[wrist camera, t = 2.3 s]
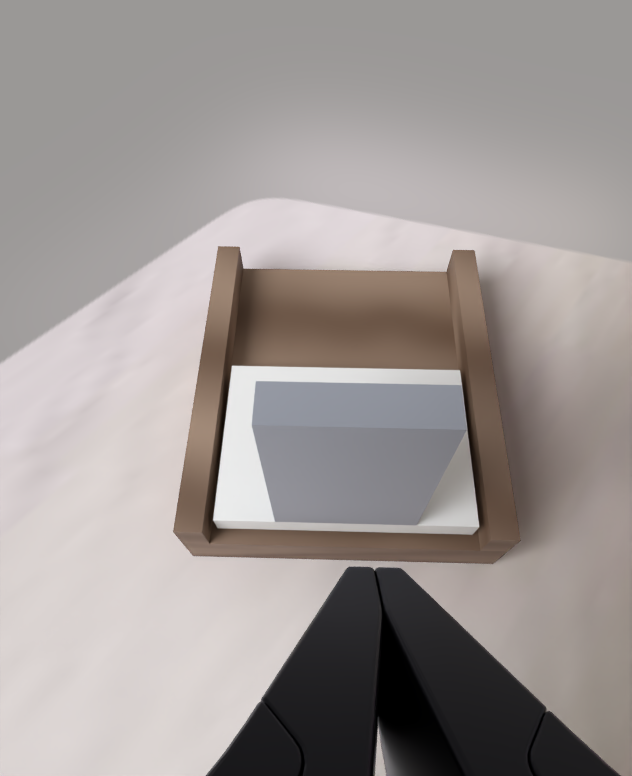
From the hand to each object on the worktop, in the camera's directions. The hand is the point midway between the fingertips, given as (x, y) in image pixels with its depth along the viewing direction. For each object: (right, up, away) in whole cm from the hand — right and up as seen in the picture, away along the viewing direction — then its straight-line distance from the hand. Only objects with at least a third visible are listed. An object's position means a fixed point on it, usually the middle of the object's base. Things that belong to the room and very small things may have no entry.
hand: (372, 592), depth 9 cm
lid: (0, +1, +13) cm, 13 cm away
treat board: (0, +2, +17) cm, 17 cm away
